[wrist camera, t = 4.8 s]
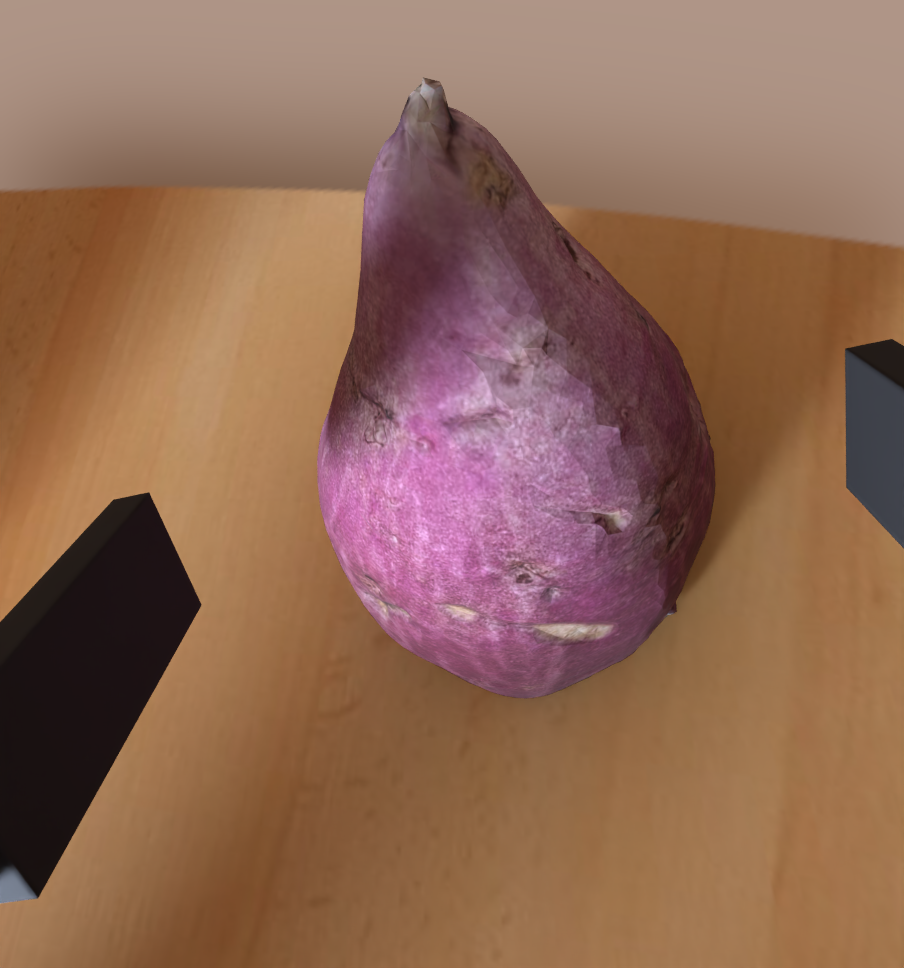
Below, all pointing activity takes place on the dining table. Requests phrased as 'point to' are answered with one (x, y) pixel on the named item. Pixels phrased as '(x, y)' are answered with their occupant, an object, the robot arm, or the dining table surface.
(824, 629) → the dining table surface
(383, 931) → the dining table surface
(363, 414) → the vegetable
